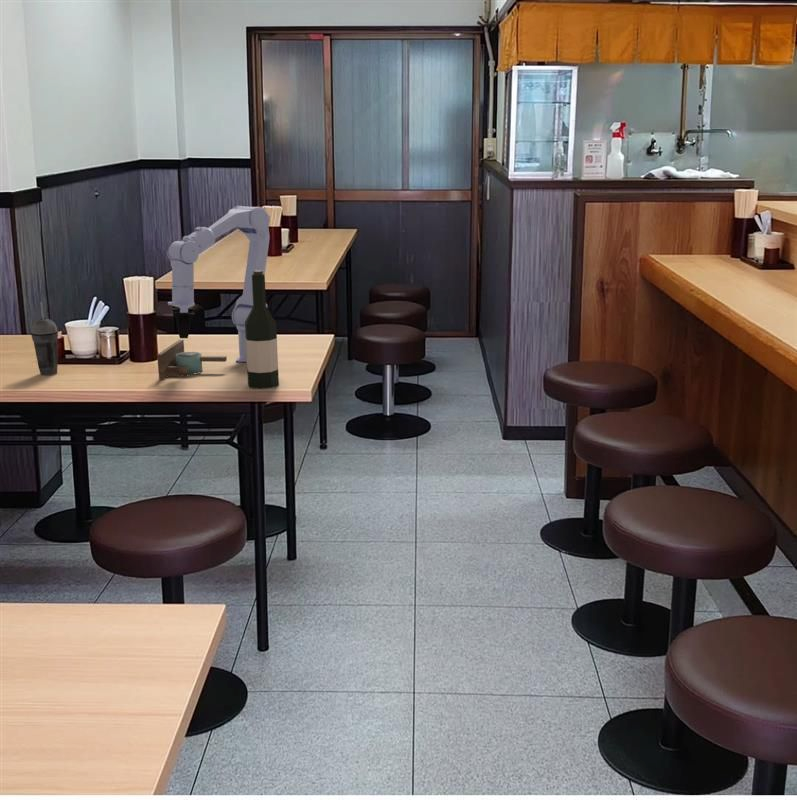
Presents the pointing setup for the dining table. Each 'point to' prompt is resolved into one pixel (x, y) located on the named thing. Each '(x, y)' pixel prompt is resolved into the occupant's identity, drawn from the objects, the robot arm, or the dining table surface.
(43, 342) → the beverage cup
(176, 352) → the holder
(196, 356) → the pot
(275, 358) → the wine bottle
